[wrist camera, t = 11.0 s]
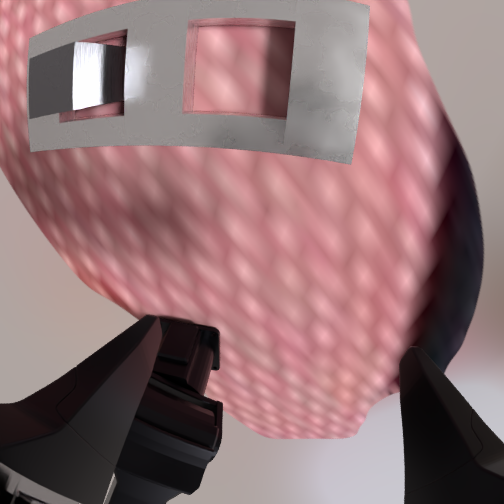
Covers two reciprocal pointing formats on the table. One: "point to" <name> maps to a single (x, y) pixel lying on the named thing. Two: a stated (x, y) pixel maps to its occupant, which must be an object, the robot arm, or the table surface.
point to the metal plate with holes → (183, 75)
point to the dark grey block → (76, 78)
